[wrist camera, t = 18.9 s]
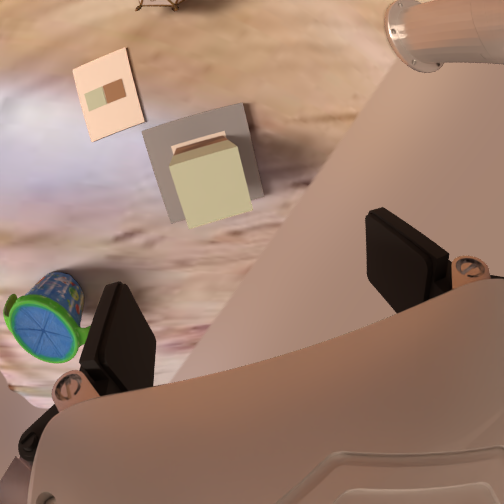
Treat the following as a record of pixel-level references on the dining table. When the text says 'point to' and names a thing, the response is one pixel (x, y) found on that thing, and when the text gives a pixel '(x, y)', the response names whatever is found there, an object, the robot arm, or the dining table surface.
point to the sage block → (210, 183)
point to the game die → (159, 3)
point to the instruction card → (108, 95)
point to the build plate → (194, 130)
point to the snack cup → (48, 318)
